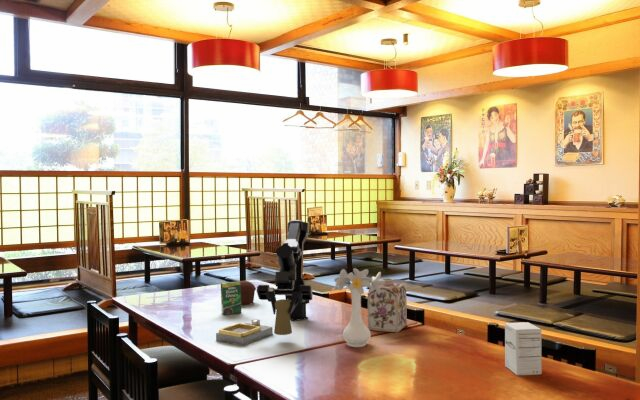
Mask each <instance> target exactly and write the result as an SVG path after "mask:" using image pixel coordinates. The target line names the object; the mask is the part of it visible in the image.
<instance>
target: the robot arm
mask: <svg viewBox="0 0 640 400" xmlns="http://www.w3.org/2000/svg"><path fill="white" fill-rule="evenodd" d="M309 233H310V224H309V223H308V222H307V221H303V220H301V219H291V220H289V221H288V222H287V235H286V240H285V241H283V242H282V243H281V245H280V246H279V247H277V249H276V251H275V254H276V258H277V263H278V265H279V266H280V267H279V271H275V273H274V274H275V276H274V282H275V287H276V288H274V287H270V285H269V284H258V285H257V287H256V293H257V297H258V299H259V300H260V301H268V302H270V303H271V309H272V314H273V315H276V311H277V310H276V308H275V302H276V301H277V298H276V296H285V298H284V299H285V300H288V301H289V302H290V308H289V315H290V321H291V320H292V321H294V322H295V321H301V320H306V319H309V317H308V316H307V304H309V303H310V301H312V300H313V289H312V286H311V285H310V284H306V283H305V282H304V279H303V271H304V270H303V263H304V244H305V242H306V241H307V239H308V236H309Z"/></svg>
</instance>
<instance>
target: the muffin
mask: <svg viewBox="0 0 640 400" xmlns="http://www.w3.org/2000/svg"><path fill="white" fill-rule="evenodd" d="M238 281H239V282H240V289H241V306H250V305H252V304H254V299H255V291H257V287H256V286H255V285H254V284H253V283H252V282H251V281H248V280H238Z"/></svg>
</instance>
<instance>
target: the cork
mask: <svg viewBox="0 0 640 400" xmlns="http://www.w3.org/2000/svg"><path fill="white" fill-rule="evenodd" d="M275 308H276V312H275V321H274V328H273V329H274V331H273V334H275V335H278V336H287V335H290V334H292V333H293V330H292V324H291V323H292V322H291V319H290V315H289V308H290V302H289V301H288V300H286V298H284V299H278V300H277V299H276V302H275Z"/></svg>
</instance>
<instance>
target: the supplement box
mask: <svg viewBox="0 0 640 400" xmlns="http://www.w3.org/2000/svg"><path fill="white" fill-rule="evenodd" d="M504 366H505V367H506V368H507V369H509V370H510V371H511V372H513V373H514V375H516V376H531V375H533V376H534V375H542V368H543V366H542V328H540V327H538V326H537V325H534V324H532V323H530V322H528V321H527V322H524V321H523V322H521V321H520V322H519V321H518V322H505V323H504Z"/></svg>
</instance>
